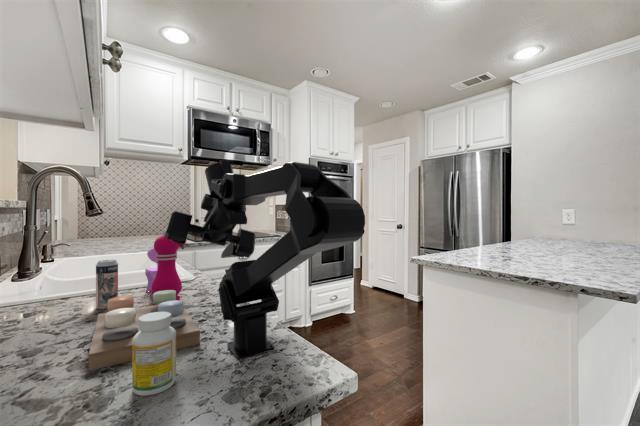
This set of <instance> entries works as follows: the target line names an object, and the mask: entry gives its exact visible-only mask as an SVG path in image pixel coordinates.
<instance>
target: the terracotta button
mask: <svg viewBox="0 0 640 426" xmlns="http://www.w3.org/2000/svg"><path fill="white" fill-rule="evenodd" d="M134 301H135V299H134V296H133V295H118V297H114V298H111V299H109V300H108V309H107V311H108V312H109V311H112V310H116V309H121V308H134V307H135V305H134V304H135V303H134Z"/></svg>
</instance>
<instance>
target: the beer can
mask: <svg viewBox="0 0 640 426" xmlns="http://www.w3.org/2000/svg"><path fill="white" fill-rule="evenodd" d="M114 297H119V262H118V261H117V260H116V259H104V260H103V259H102V260H98V261H97V263H96V265H95V308H96V309H99V310H108V300H109V299H111V298H114Z"/></svg>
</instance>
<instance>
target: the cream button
mask: <svg viewBox="0 0 640 426" xmlns="http://www.w3.org/2000/svg"><path fill="white" fill-rule="evenodd" d="M105 313H106V314H105V326H106V327H108V328H117V327H123V326H127V325H130V324H132V323H134V322H135V308H134V307H133V308H121V309H116V310H112V311H108V312H105Z"/></svg>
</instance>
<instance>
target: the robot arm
mask: <svg viewBox="0 0 640 426" xmlns="http://www.w3.org/2000/svg"><path fill="white" fill-rule="evenodd" d="M204 170H205V171H204V175H205V178H206V182H207V183H206V184H207V187H208V191H209V193H205V194H204V196H203V198H202V201H201V204H200V209H201V210H205V211H207V212H206V213H205V216H204V217H203V223H204V224H203V226H201V225H196V224H193V223H192V219H193V214H190V213H186V212H183V211H179V210H174V211H172V213H171V214H170V218H169V221H168V224H167V227H166V229H165V230H166V233H165V237H166V238H167V239H170V240H171V241H173V242H176V243H177V244H178V245H179V248H181V250H184V249H185V248H186V244H187V240H188V237H189V236H190V237H195V238H198V239H201V241H203V242H207V243H211V244H214V245H219V246H224V247H225V245H226V244H227V242H228V243H229V244H228V245H227V246H226V247H225V248H224V249H223V251H222V252H221V256H220V258H221V259H227V258H250V257H251V256H252V255H253V254H254V252H255V245H256V234H255V232H254V231H253V230H252V231H250V230H248V229H243V228H239V229H238V231H237V232H234V229H235V227H236V226H237V225H247V224H248V218H247V214H246V213H247V206H258V205H260V204H263V203H265V201H266V198H270V197H277V196H284V195H285V196H286V198H285V205H284V210H285V213H286V214H287V215H288V217H289V229H290V230H289V231H287V232H286V233H285V234H284V235H283V236H282V237H280V239H278V240H277V241H276V242H275V243H274V244H273V245H272V246H270V247H269V248H268V249H267V250H266V251H265V252H263V253H262V254H261V255H260V256H259V257H258V258H256V259H251V260H242V261H241V260H240V261H235V262H233V263H232V264H231V265H230V266H229V268H228V269H226V268H225V269H224V271H225V273H224V275H223V277H222V278H221V281H220V282H219V287H218V290H217V292H218V295H219V302H220V303H219V304H220V310H221V314H222V320H224V321H231V322H232V323H233V341H228V342H227V348H228V349H229V350H230V352H232V354H233V355H234V356H235V357H236V358H237V359H238V360H243V359H247V358H250V357H252V356H257V355H260V354H264V353H267V352H271V351H274V350H275V345H274V344H272V342H270V341H269V339H268V338H267V337H268V336H267V335H268V332H267V331H268V327H267V322H268V321H267V320H268V318H267V316H268V313H271V312H272V313H273V312H278V308H279V303H280V300H279V298H278V296H277V294H276V292H275V289H274V287H273V284H274V283H275V282H276V281H278V280H279V279H280V278H282V277H284V276H285V275H286V274H288V273H289V272H291V271H292V270H294V269H295V268H297V267H298V266H300V265H301V264H303V263H304V262H306V261H307V260H309V259H310V258H312V257H313V256H314V255H316V254H318V253H321V252H325V251H329V250H333V249H337V248H341V247H345V246H347V245H349V244H352V243H355V242H357V241H359V240H360V239H361V238H362V237H363V236H364V234H365V225H366V215H365V211H364V209H363V206H362V205H361V204H360V202H358V201H357V200H356V199H354V198H352V196H351V195H350V194H349V193H348V192H347V191H346V190H345V189H344V188H342V187H341V186H340V185H338V184H337V183H335V182H334V181H333V180H331V179H330V178H329V177H327V176H326V175H325V173H324V172H323V171H322V170H321V168H320V167H318V166H317V165H315V164H311V163H304V162H298V161H289V162H285V163H284V164H282V165H281V166H280V165H279V166H277V167H274V168H270V169H266V170H264V171H262V170H261V171H259V172H256V173H252V174H241V173H234V169H233V167H232V164H231V161H230V160H225V159H220V160H219V162H216V163H213V164H210V165H208V167H206V168H205V169H204ZM305 193H307V194H309V193H310V196H306V195H305ZM255 301H256V302H255ZM257 301H258V302H257ZM251 302H254V303H251ZM246 303H249V304H246ZM242 304H243V305H242ZM238 305H240V306H238Z"/></svg>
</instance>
